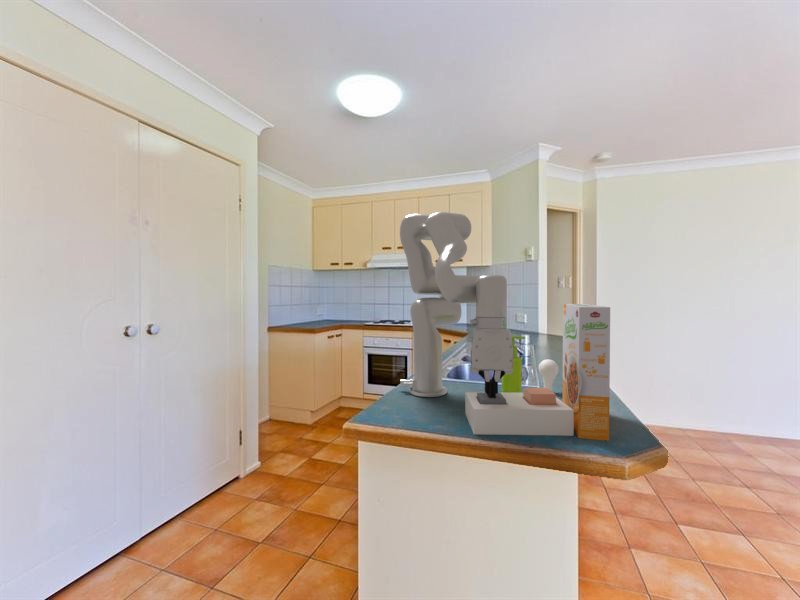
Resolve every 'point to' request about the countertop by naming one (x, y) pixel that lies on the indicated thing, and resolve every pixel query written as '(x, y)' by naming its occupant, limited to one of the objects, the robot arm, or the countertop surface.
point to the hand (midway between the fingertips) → (491, 396)
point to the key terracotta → (539, 396)
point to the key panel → (518, 417)
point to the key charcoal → (491, 399)
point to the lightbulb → (548, 372)
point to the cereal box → (587, 368)
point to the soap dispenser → (513, 380)
